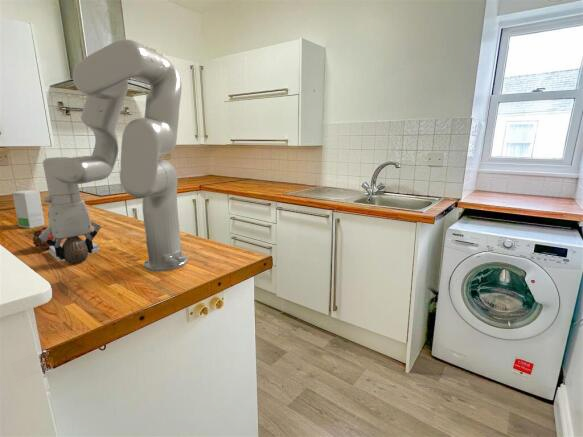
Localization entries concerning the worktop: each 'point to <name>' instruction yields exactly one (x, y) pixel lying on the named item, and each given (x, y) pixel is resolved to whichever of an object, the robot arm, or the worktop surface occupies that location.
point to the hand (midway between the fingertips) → (75, 254)
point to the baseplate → (52, 248)
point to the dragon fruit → (39, 242)
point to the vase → (74, 250)
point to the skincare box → (28, 208)
